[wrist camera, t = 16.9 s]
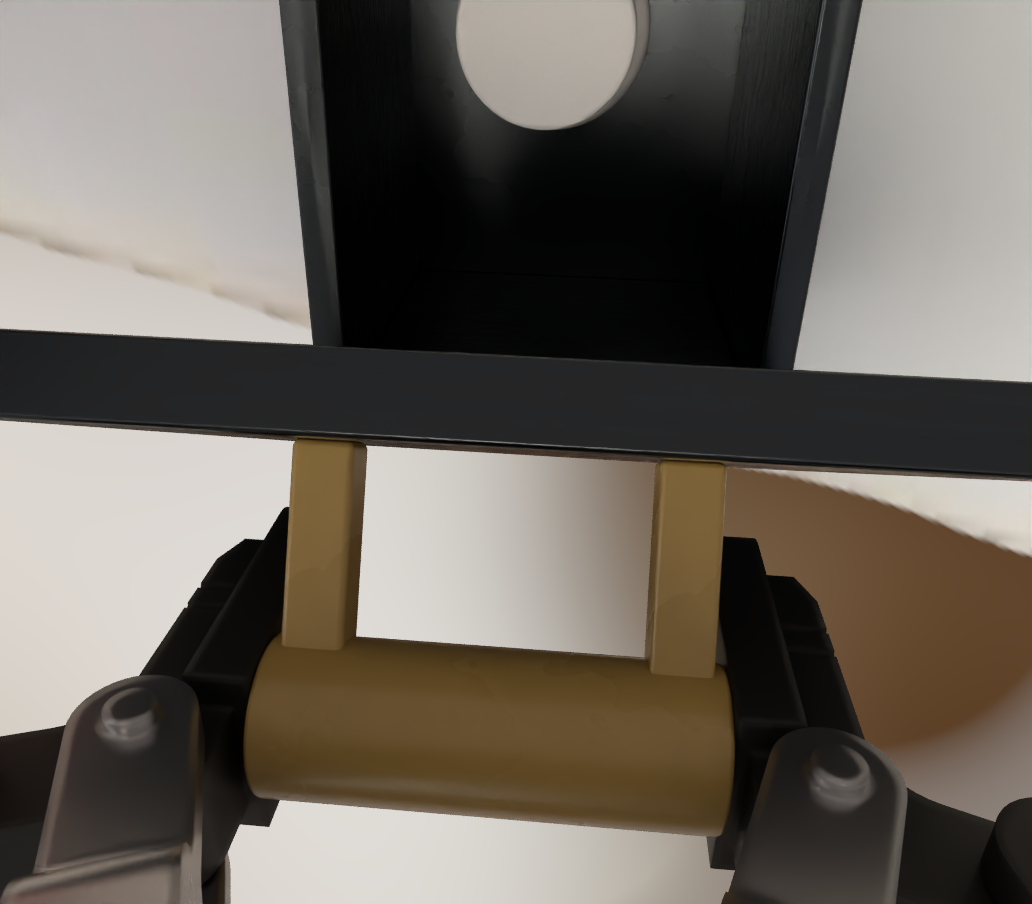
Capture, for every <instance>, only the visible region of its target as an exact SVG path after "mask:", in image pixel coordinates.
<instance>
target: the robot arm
mask: <svg viewBox="0 0 1032 904" xmlns="http://www.w3.org/2000/svg"><path fill="white" fill-rule="evenodd" d="M288 522H289V507H285V508H284V509H283V510H282V511H281V513H280V514H279V516H278V517H277V519H276V521H275V522H274V524H273V526H272V527H271V529H270V531H269V532H268V534H267V536H266V537H265V539H264V540H255V539H244V540H243V541H242V542H240V543H239V544H237V545H236V546H235V547H233V548H232V549H231V550H229V551H227V552H226V553H225V554H223V555H222V556H220V557H219V558H218V559H217V560H216V561H215V563H214V564H213V566H212V567H211V569H210V570H209V572H208V573H207V575H206V576H205V578H204V579H203V581H202V582H201V588H197V590H196V591H195V593H194V594H193V596H192V597H191V599H190V600H189V602H188V607H187V608H184V609H183V611H182V612H181V614H180V615H179V617H178V618H177V620H176V621H175V623H174V624H173V626H172V627H171V629H170V630H169V632H168V633H167V635H166V636H165V638H164V639H163V641H162V642H161V644H160V645H159V647H158V648H157V650H156V651H155V653H154V654H153V656H152V657H151V658H150V660H149V662H148V663H147V665H146V666H145V667H144V669H143V670H142V672H141V674H140V675H139V676H136V677H131V678H127V679H124V680H121V681H118V682H115V683H112V684H110V685H108V686H106V687H104V688H102V689H100V690H99V691H97V692H95V693H93V694H92V695H91V696H89V697H88V698H86V699H85V700H84V701H83V702H82V703H81V704H80V705H79V706H78V707H77V708H76V709H75V710H74V712H73V713H72V714H71V716H70V718H69V720H68V721H67V723H66V725H64V726H60V727H55V728H50V729H44V730H39V731H31V732H26V733H19V734H13V735H7V736H1V737H0V904H230V862H229V856H228V850H229V848H230V845H231V843H232V841H233V838H234V836H235V834H236V832H237V829H238V827H239V825H240V824H243V825H255V826H265V827H269V826H270V823H271V821H272V818H273V816H274V813H275V811H276V808H277V806H278V803H279V801H280V800H275V799H264V798H259V797H257V796H255V795H254V794H253V793H252V792H251V790H250V789H249V786H248V784H247V780H246V776H245V769H244V756H243V741H244V726H245V718H246V711H247V705H248V700H249V695H250V690H251V687H252V683H253V679H254V676H255V673H256V670H257V667H258V665H259V662H260V660H261V657H262V655H263V653H264V651H265V649H266V647H267V646H268V644H269V643H270V641H271V640H272V639H273V638H274V637H275V636H276V635H277V634H279V633H282V621H283V604H284V588H285V571H286V555H287V538H288ZM716 663H718V664H720V665H722V666H723V667H724V669H725V671H726V674H727V677H728V680H729V684H730V689H731V695H732V703H733V714H734V732H735V773H734V787H733V797H732V804H731V810H730V815H729V819H728V822H727V825H726V828H725V830H724V832H723V834H722V835H720V836H717V837H707V843H708V852H709V861H710V867H711V868H714V869H725V870H735V873H734V876H733V879H732V882H731V886H730V889H729V892H726V893H725V895H724V897H723V900H722V903H721V904H1032V797H1031V798H1024V799H1019V800H1016V801H1014V802H1011V803H1009V804H1008V805H1007V806H1005V807H1004V808H1003V809H1002V810H1001V812H1000V813H999V815H998V817H997V820H996V822H993V821H990V820H987V819H984V818H981V817H978V816H975V815H972V814H969V813H966V812H963V811H959V810H957V809H954V808H951V807H948V806H945V805H942V804H939V803H937V802H934V801H932V800H929V799H927V798H925V797H923V796H921V795H919V794H917V793H915V792H914V791H912V790H910V789H909V788H907V787H906V784H905V781H904V779H903V777H902V775H901V773H900V772H899V770H898V769H897V767H896V766H895V764H894V763H893V762H892V761H891V760H890V759H889V758H888V757H887V756H886V755H885V754H884V753H883V752H882V751H880V750H879V749H878V748H876V747H875V746H873V745H872V744H870V743H869V742H867V741H865V739H864V736H863V733H862V730H861V727H860V724H859V721H858V718H857V715H856V713H855V710H854V707H853V704H852V701H851V698H850V695H849V692H848V689H847V686H846V684H845V681H844V678H843V675H842V672H841V669H840V666H839V663H838V660H837V657H834V649H833V646H832V643H831V640H830V637H829V634H826V626H825V623H824V620H823V617H822V614H821V611H820V608H819V605H818V602H817V601H816V600H815V599H814V598H813V597H812V596H811V595H810V594H809V592H808V591H807V590H806V589H805V588H804V587H803V586H802V585H801V584H800V583H799V582H798V581H797V580H796V579H795V578H794V577H787V576H772V575H766V571H765V567H764V564H763V560H762V557H761V553H760V550H759V546H758V543H757V541H756V539H754V538H741V537H725V536H723V547H722V564H721V582H720V599H719V616H718V633H717V651H716Z"/></svg>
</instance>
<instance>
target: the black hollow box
mask: <svg viewBox="0 0 1032 904" xmlns="http://www.w3.org/2000/svg"><path fill="white" fill-rule="evenodd" d="M458 1H459V0H279V5H280V15H281V25H282V36H283V46H284V56H285V66H286V76H287V86H288V96H289V106H290V116H291V127H292V137H293V147H294V157H295V167H296V177H297V187H298V197H299V207H300V217H301V228H302V238H303V248H304V258H305V268H306V278H307V288H308V298H309V308H310V319H311V329H312V339H313V345H325V346H344V347H364V348H383V349H402V350H421V351H441V352H460V353H479V354H498V355H518V356H537V357H556V358H575V359H595V360H614V361H633V362H652V363H672V364H691V365H710V366H730V367H749V368H768V369H787V370H793V368H794V363H795V357H796V352H797V347H798V341H799V336H800V331H801V325H802V320H803V315H804V309H805V304H806V299H807V294H808V288H809V283H810V278H811V272H812V267H813V262H814V256H815V251H816V246H817V240H818V235H819V230H820V224H821V219H822V214H823V209H824V203H825V198H826V193H827V187H828V182H829V177H830V171H831V166H832V161H833V155H834V150H835V145H836V140H837V134H838V129H839V124H840V118H841V113H842V108H843V102H844V97H845V92H846V86H847V81H848V76H849V71H850V65H851V60H852V55H853V49H854V44H855V39H856V33H857V28H858V23H859V17H860V12H861V7H862V2H863V0H649V6H650V16H651V25H650V34H649V41H648V46H647V50H646V54H645V57H644V61H643V63H642V66H641V68H640V70H639V73H638V74H637V76H636V78H635V80H634V81H633V83H632V85H631V86H630V88H629V89H628V90H627V92H626V93H625V94H624V95H623V96H622V97H621V99H620V100H619V101H618V102H617V103H616V104H615V105H614V106H612V107H611V108H610V109H609V110H608V111H606V112H605V113H603V114H602V115H601V116H599V117H597V118H596V119H594V120H592V121H589V122H587V123H585V124H582V125H579V126H576V127H572V128H567V129H560V130H535V129H529V128H524V127H521V126H518V125H515V124H513V123H510V122H508V121H506V120H505V119H503V118H501V117H500V116H498V115H497V114H495V113H494V112H492V111H491V110H490V109H489V108H488V107H487V106H486V105H485V104H484V103H483V102H482V101H481V100H480V98H479V97H478V96H477V95H476V93H475V92H474V91H473V89H472V88H471V86H470V84H469V83H468V81H467V79H466V77H465V74H464V72H463V69H462V66H461V63H460V59H459V55H458V51H457V41H456V15H457V7H458Z"/></svg>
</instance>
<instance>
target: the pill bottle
mask: <svg viewBox="0 0 1032 904" xmlns="http://www.w3.org/2000/svg"><path fill="white" fill-rule="evenodd" d="M650 25H651V16H650V6H649V0H459V1H458V7H457V15H456V41H457V51H458V55H459V59H460V63H461V66H462V69H463V72H464V74H465V77H466V79H467V81H468V83H469V84H470V86H471V88H472V89H473V91H474V92H475V93H476V95H477V96H478V97H479V98H480V100H481V101H482V102H483V103H484V104H485V105H486V106H487V107H488V108H489V109H490V110H491V111H492V112H494V113H495V114H497V115H498V116H500V117H501V118H503V119H505V120H506V121H508V122H510V123H513V124H515V125H518V126H521V127H524V128H529V129H535V130H560V129H567V128H572V127H576V126H579V125H582V124H585V123H587V122H589V121H592V120H594V119H596V118H597V117H599V116H601V115H602V114H603V113H605V112H606V111H608V110H609V109H610V108H611V107H612V106H614V105H615V104H616V103H617V102H618V101H619V100H620V99H621V97H622V96H623V95H624V94H625V93H626V92H627V90H628V89H629V88H630V86H631V85H632V83H633V81H634V80H635V78H636V76H637V74H638V73H639V70H640V68H641V66H642V63H643V61H644V57H645V54H646V50H647V46H648V41H649V34H650Z"/></svg>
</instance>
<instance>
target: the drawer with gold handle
mask: <svg viewBox="0 0 1032 904" xmlns="http://www.w3.org/2000/svg"><path fill="white" fill-rule="evenodd" d="M0 420H3V421H18V422H31V423H45V424H60V425H74V426H89V427H103V428H117V429H131V430H132V429H133V430H145V431H160V432H174V433H189V434H202V435H217V436H231V437H247V438H259V439H274V440H288V441H295V442H294V444H293V456H292V457H293V458H292V472H291V489H290V490H291V491H290V506H289V522H288V538H287V555H286V571H285V588H284V604H283V621H282V633H279V634H277V635H276V636H275V637H274V638H273V639H272V640H271V641H270V643H269V644H268V646H267V647H266V649H265V651H264V653H263V655H262V657H261V660H260V662H259V665H258V667H257V670H256V673H255V676H254V679H253V683H252V687H251V690H250V695H249V700H248V705H247V711H246V718H245V726H244V741H243V756H244V769H245V776H246V780H247V784H248V786H249V789H250V790H251V792H252V793H253V794H254V795H255V796H257V797H259V798H264V799H275V800H287V801H299V802H310V803H322V804H334V805H346V806H358V807H369V808H380V809H392V810H403V811H415V812H427V813H438V814H450V815H451V814H452V815H462V816H474V817H485V818H497V819H508V820H520V821H532V822H543V823H556V824H568V825H578V826H590V827H602V828H614V829H625V830H637V831H648V832H660V833H672V834H683V835H695V836H707V837H717V836H720V835H722V834H723V832H724V830H725V828H726V825H727V822H728V819H729V815H730V810H731V804H732V797H733V787H734V773H735V732H734V714H733V703H732V695H731V689H730V684H729V680H728V677H727V674H726V671H725V669H724V667H723V666H722V665H720V664H718V663H716V651H717V633H718V616H719V599H720V582H721V564H722V547H723V530H724V512H725V495H726V478H727V477H726V476H727V468H726V467H739V468H756V469H773V470H793V471H815V472H837V473H859V474H881V475H903V476H925V477H947V478H969V479H991V480H1012V481H1032V382H1018V381H999V380H980V379H961V378H941V377H922V376H903V375H884V374H864V373H845V372H826V371H807V370H787V369H768V368H749V367H730V366H710V365H691V364H672V363H652V362H633V361H614V360H595V359H575V358H556V357H537V356H518V355H498V354H479V353H460V352H441V351H421V350H402V349H383V348H364V347H344V346H325V345H306V344H287V343H267V342H248V341H229V340H228V341H227V340H209V339H190V338H171V337H152V336H133V335H113V334H94V333H93V334H92V333H75V332H55V331H35V330H17V329H0ZM366 445H368V446H385V447H401V448H419V449H435V450H453V451H469V452H486V453H503V454H521V455H536V456H554V457H570V458H571V457H572V458H587V459H604V460H621V461H639V462H655V463H657V464H656V470H655V486H654V503H653V520H652V538H651V554H650V555H651V556H650V573H649V590H648V607H647V624H646V640H645V657H644V658H642V657H629V656H615V655H614V656H613V655H602V654H587V653H574V652H559V651H546V650H533V649H519V648H506V647H492V646H479V645H465V644H451V643H437V642H423V641H410V640H397V639H383V638H369V637H356V628H357V611H358V595H359V578H360V562H361V546H362V545H361V544H362V529H363V511H364V495H365V479H366V463H367V462H366V461H367V447H366Z"/></svg>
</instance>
